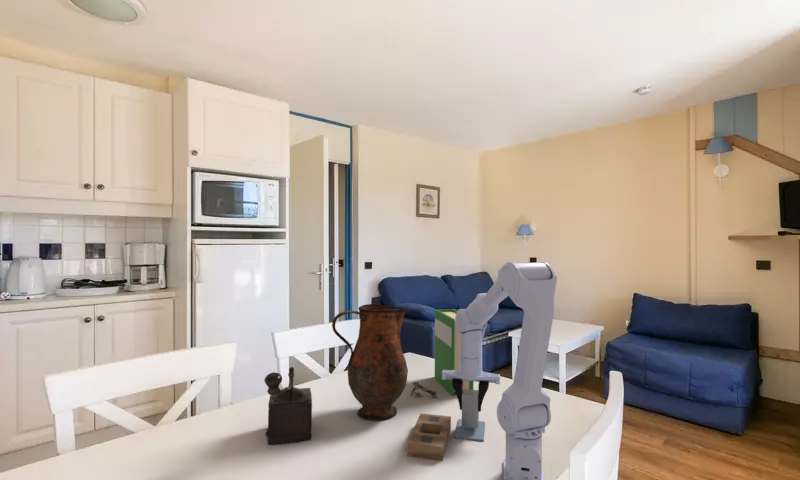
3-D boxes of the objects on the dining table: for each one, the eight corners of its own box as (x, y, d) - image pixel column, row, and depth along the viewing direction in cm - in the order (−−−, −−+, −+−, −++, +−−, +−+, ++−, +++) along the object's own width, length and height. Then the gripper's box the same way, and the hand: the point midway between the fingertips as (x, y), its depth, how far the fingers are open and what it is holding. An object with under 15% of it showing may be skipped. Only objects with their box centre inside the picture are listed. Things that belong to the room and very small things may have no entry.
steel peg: (477, 427, 100) (478, 395, 100) (461, 425, 101) (461, 394, 101) (478, 421, 104) (478, 390, 104) (463, 419, 105) (463, 388, 105)
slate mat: (483, 441, 97) (483, 439, 97) (454, 437, 99) (454, 436, 99) (485, 423, 107) (485, 421, 107) (458, 420, 109) (458, 418, 109)
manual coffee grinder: (267, 426, 105) (267, 357, 105) (310, 421, 107) (311, 354, 108) (262, 457, 90) (263, 376, 90) (313, 451, 92) (313, 372, 92)
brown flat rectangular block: (442, 460, 88) (442, 446, 88) (407, 455, 90) (407, 442, 90) (450, 428, 104) (451, 416, 104) (420, 424, 106) (420, 412, 106)
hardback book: (473, 393, 128) (473, 318, 128) (451, 395, 126) (451, 319, 127) (454, 375, 145) (454, 309, 145) (434, 376, 144) (434, 309, 144)
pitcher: (415, 422, 107) (415, 310, 107) (334, 432, 102) (335, 313, 102) (399, 399, 123) (399, 301, 123) (328, 406, 118) (329, 303, 118)
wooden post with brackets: (408, 392, 127) (414, 379, 127) (431, 403, 126) (437, 390, 126) (407, 394, 125) (413, 381, 125) (431, 405, 124) (437, 392, 124)
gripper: (499, 353, 105) (499, 405, 105) (444, 350, 109) (444, 400, 108) (499, 361, 98) (499, 417, 98) (440, 357, 102) (440, 411, 102)
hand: (470, 409), depth 103 cm, fingers closed on steel peg, 4 cm apart
